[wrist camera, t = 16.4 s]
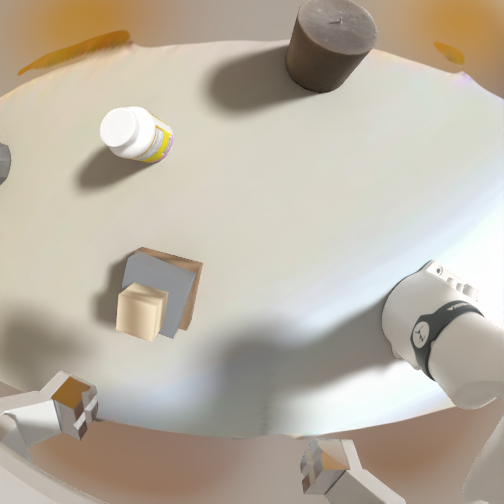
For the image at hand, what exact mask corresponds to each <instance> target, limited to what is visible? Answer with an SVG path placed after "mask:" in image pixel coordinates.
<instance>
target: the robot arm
mask: <svg viewBox="0 0 504 504" xmlns="http://www.w3.org/2000/svg"><path fill="white" fill-rule="evenodd" d="M437 269H438V272H437ZM477 301H478V290H477V289H476V288H474V287H473V286H472V285H470V284H469V283H468V282H466V281H465V280H463V279H462V278H460V277H459V276H458V275H456V274H455V273H453V272H452V271H450V270H449V269H447V268H446V267H444V266H443V265H441V264H440V263H438V262H437V261H435V260H432V261H430V262H429V263H427V264H426V265H425V266H424V267H423V269H422V270H420V271H419V272H417V273H415V274H412V275H410V276H408V277H407V278H405V279H404V280H402V281H401V282H400V283H399V284H398V285H397V286H396V287H395V288H394V290H393V291H392V292H391V294H390V295H389V297H388V299H387V301H386V303H385V306H384V309H383V313H382V328H383V332H384V334H385V336H386V338H387V339H388V340H389V342H390V343H391V345H392V352H393V355H394V356H395V357H396V358H398V359H400V358H404V359H405V360H406V361H407V362H408V363H409V364H410V365H411V366H412V367H413V368H414V369H416V370H419V369H422V371H423V372H424V373H425V374H426V375H427V376H428V377H429V378H430V379H432V380H433V381H436V382H437V383H438V384H439V386H440V387H441V388H442V389H443V391H444V392H445V393H446V394H447V396H448V397H449V398H450V399H451V401H452V402H453V403H454V404H455V405H456V406H458V407H461V408H465V409H477V408H480V407H483V406H484V405H486V404H488V403H490V402H491V401H493V400H494V399H496V398H499V399H500V400H501V401H502V402H503V404H504V329H503V328H501V327H499V326H497V325H496V324H494V323H492V322H491V321H489V320H487V319H486V318H484V316H483V306H482V305H481V304H480V303H478V302H477ZM96 394H97V390H96V386H94V385H92V384H90V383H88V382H86V381H84V380H82V379H80V378H78V377H76V376H74V375H71V374H69V373H67V372H65V371H63V370H61V371H59V372H58V373H57V374H56V375H55V376H54V377H53V378H52V379H51V380H50V381H49V382H48V383H47V384H46V385H45V386H44V387H43V388H42V389H41V390H40V391H37V390H35V391H31V392H26V393H22V394H17V395H12V396H7V397H2V398H0V504H109V503H106V502H103V501H101V500H99V499H97V498H95V497H92V496H90V495H88V494H86V493H84V492H81V491H80V490H78V489H75V488H74V487H72V486H70V485H68V484H66V483H64V482H62V481H60V480H59V479H57V478H55V477H53V476H51V475H50V474H48V473H46V472H45V471H43V470H41V469H40V468H38V467H37V466H35V465H33V464H32V463H31V462H32V457H31V455H30V453H29V451H28V449H27V447H30V446H32V445H34V444H37V443H39V442H41V441H44V440H46V439H48V438H51V437H53V436H55V435H58V434H59V433H61V432H63V433H65V434H68V435H69V436H71V437H74V438H76V439H78V440H81V439H82V437H83V436H84V434H85V433H86V431H87V424H89V423H91V422H93V420H94V419H95V417H96V414H97V411H98V401H97V400H96V398H95V397H94V396H95V395H96ZM300 467H301V473H302V474H303V475H304V476H305V478H304V479H303V481H302V484H303V492H304V494H314V495H315V494H316V495H324V496H325V497H326V498H327V499H328V500H329V502H330V503H331V504H406V502H405V500H404V499H403V498H402V497H400V496H399V495H397V494H396V493H395V492H394V491H392V490H391V489H390V488H388V487H387V486H386V485H384V484H383V483H382V482H381V481H379V480H378V479H377V478H376V477H374V476H373V475H372V474H371V473H369V472H368V471H367V470H362V467H361V464H360V461H359V458H358V455H357V452H356V449H355V447H354V444H353V441H352V440H337V439H316V438H315V439H313V440H312V441H311V443H310V449H309V450H307V451H305V453H304V455H303V456H302V459H301V466H300ZM463 499H464V502H465V504H504V415H503V417H502V419H501V420H500V422H499V424H498V425H497V427H496V428H495V430H494V432H493V433H492V435H491V436H490V438H489V439H488V441H487V442H486V444H485V445H484V447H483V448H482V450H481V451H480V452H479V454H478V456H477V458H476V460H475V462H474V464H473V466H472V468H471V470H470V472H469V474H468V476H467V478H466V480H465V482H464V485H463Z"/></svg>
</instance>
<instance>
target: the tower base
mask: <svg viewBox="0 0 504 504" xmlns="http://www.w3.org/2000/svg"><path fill="white" fill-rule="evenodd" d="M139 251H140V252H142V253H145V254H147V255H150V256H152V257H155V258H157V259H160V260H162V261H165V262H167V263H170V264H173V265H175V266H178V267H180V268H183V269H186V270H188V271H191V272H194V273H196V275H195V279H194V282H193V285H192V288H191V291H190V294H189V297H188V301H187V304H186V307H185V310H184V313H183V317H182V320H181V323H180V327H179V329H183V330H187V328H188V326H189V324H190V322H191V319H192V314H193V309H194V304H195V299H196V294H197V289H198V284H199V279H200V274H201V269H202V265H203V263H201V262H197V261H193V260H189V259H185V258H182V257H178V256H174V255H170V254H167V253H163V252H159V251H155V250H152V249H148V248H144V247H141V248H140V249H138V250H136V251H134V253H133V254H135V253H137V252H139Z"/></svg>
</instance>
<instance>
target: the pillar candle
mask: <svg viewBox="0 0 504 504" xmlns="http://www.w3.org/2000/svg"><path fill="white" fill-rule="evenodd" d="M377 35H378V32H377V27H376V25H375V23H374V20H373V18H372V16H371V15H370V14H369V13H368V12H367V11H366V10H365V9H364V8H362V7H361V6H359V5H357V4H356V3H354V2H353V1H351V0H306V1H305V2H304V3H303V4H302V5H301V7H300V8H299V11H298V15H297V18H296V22H295V26H294V30H293V33H292V37H291V40H290V44H289V48H288V51H287V55H286V67H287V70H288V73H289V75H290V76H291V78H292V79H293V80H294V81H295V82H296V83H297V84H299V85H300V86H301V87H303V88H305V89H307V90H310V91H313V92H318V93H321V92H329V91H332V90H335V89H337V88H338V87H340V86H341V85H342V84H343V82H344V81H345V80H346V79H347V78H348V77H349V75H350V74H351V73H352V72H353V71H354V69H355V68H356V67H357V66H358V65H359V63H360V62H361V61H362V60H363V59H364V57H365V56H366V55H367V54H368V53H369V52H370V50H371V49H372V48H373V47H374V46H375V44H376V41H377Z"/></svg>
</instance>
